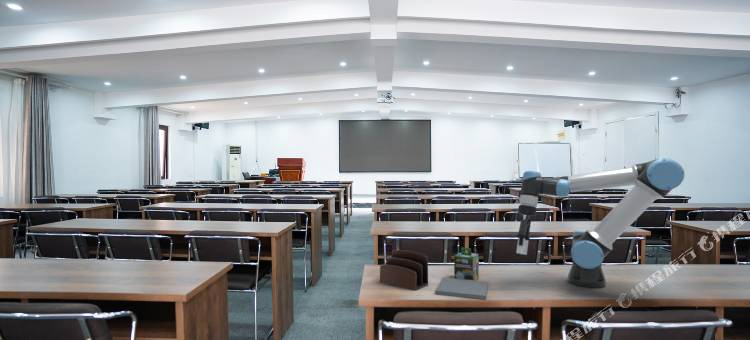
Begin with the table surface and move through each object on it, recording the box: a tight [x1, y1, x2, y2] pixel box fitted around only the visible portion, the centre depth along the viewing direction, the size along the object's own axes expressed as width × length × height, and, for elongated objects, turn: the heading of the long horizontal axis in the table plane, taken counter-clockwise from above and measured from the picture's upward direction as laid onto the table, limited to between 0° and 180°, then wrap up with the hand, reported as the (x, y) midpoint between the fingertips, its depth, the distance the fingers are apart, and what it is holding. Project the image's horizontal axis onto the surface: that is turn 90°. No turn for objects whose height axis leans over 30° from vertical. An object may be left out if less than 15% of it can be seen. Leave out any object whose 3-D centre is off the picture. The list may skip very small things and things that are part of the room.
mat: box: [434, 277, 489, 300], centre depth 171 cm, size 20×20×2 cm
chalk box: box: [453, 247, 480, 281], centre depth 186 cm, size 9×9×15 cm
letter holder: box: [379, 249, 429, 291], centre depth 179 cm, size 10×20×14 cm, turn 51°
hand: (521, 254), depth 175 cm, fingers open, 13 cm apart
